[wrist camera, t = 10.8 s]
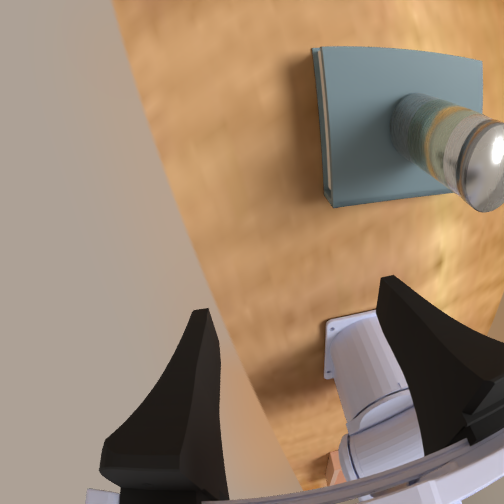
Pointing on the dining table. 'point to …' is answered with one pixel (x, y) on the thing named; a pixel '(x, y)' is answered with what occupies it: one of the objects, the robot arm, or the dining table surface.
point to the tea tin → (452, 147)
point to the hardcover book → (381, 117)
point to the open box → (334, 470)
